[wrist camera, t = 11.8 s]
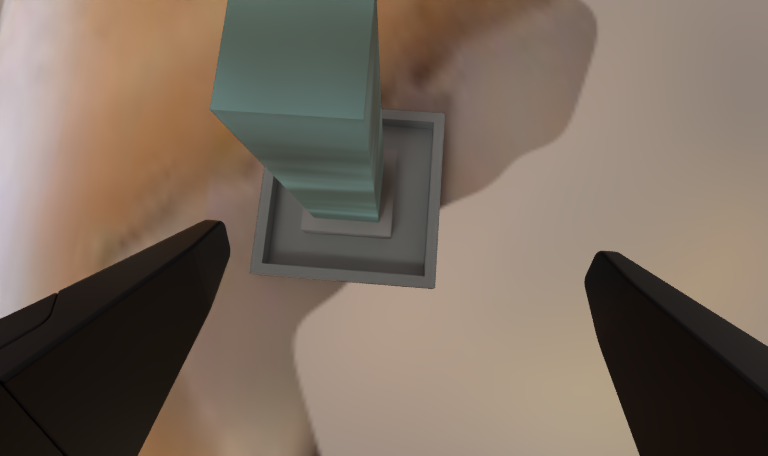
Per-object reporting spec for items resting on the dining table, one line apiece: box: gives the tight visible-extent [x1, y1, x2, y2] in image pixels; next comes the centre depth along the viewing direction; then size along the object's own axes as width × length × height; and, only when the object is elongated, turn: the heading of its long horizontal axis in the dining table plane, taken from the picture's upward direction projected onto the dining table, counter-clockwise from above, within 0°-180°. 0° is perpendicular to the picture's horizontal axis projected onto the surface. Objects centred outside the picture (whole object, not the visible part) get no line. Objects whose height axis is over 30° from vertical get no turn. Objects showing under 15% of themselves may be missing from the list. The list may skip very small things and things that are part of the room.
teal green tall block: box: [210, 0, 397, 239], centre depth 16 cm, size 5×5×14 cm
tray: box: [250, 109, 445, 289], centre depth 23 cm, size 10×10×2 cm
